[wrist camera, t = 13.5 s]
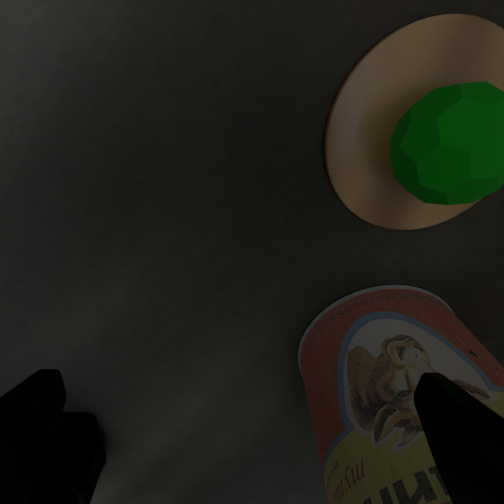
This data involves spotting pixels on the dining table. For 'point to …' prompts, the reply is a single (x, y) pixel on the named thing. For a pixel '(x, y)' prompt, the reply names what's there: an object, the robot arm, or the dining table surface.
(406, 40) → the coaster
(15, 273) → the dining table surface
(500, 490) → the robot arm
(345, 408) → the canned food
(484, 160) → the polyhedron
